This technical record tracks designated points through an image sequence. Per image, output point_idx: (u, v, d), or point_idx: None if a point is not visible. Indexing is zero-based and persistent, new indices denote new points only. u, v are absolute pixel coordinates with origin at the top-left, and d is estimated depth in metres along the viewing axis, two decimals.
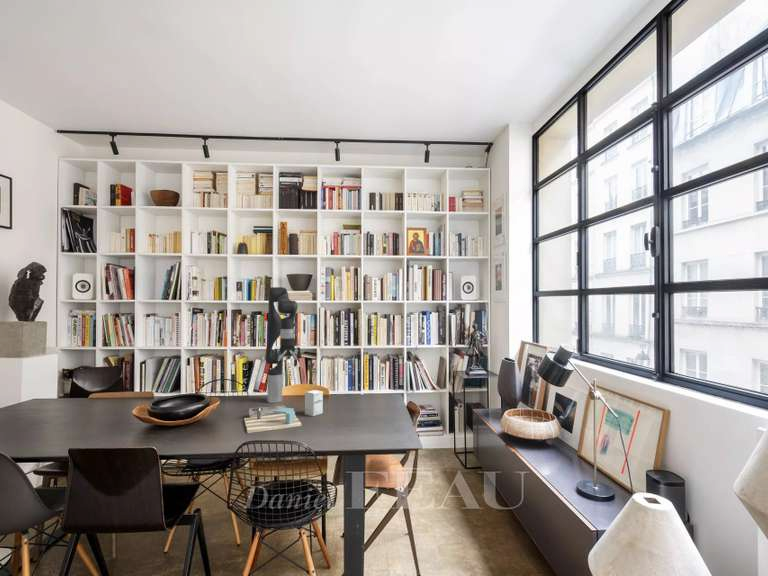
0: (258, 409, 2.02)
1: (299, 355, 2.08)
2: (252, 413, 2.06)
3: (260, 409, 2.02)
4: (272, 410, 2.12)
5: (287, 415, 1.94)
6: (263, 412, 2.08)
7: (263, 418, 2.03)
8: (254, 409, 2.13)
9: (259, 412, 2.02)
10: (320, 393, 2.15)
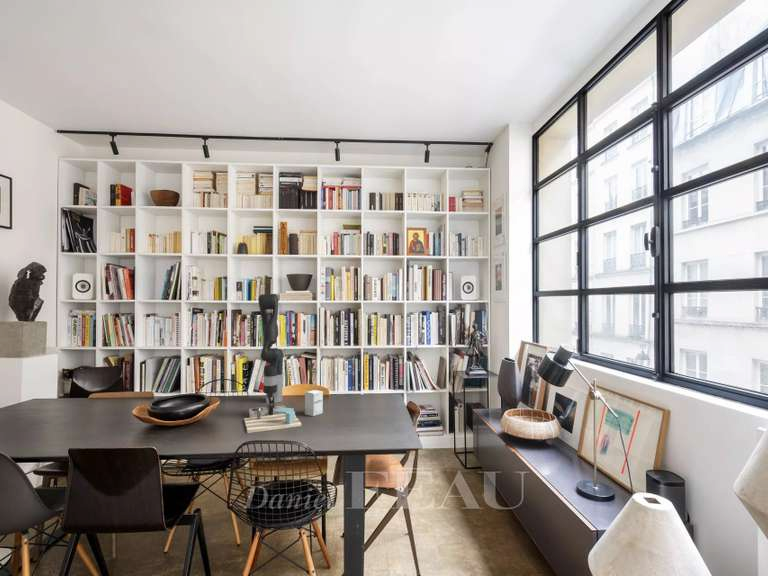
0: (258, 409, 2.02)
1: None
2: (252, 413, 2.06)
3: (260, 409, 2.02)
4: None
5: (287, 415, 1.94)
6: (263, 412, 2.08)
7: (263, 418, 2.03)
8: (254, 409, 2.13)
9: (259, 412, 2.02)
10: (320, 393, 2.15)
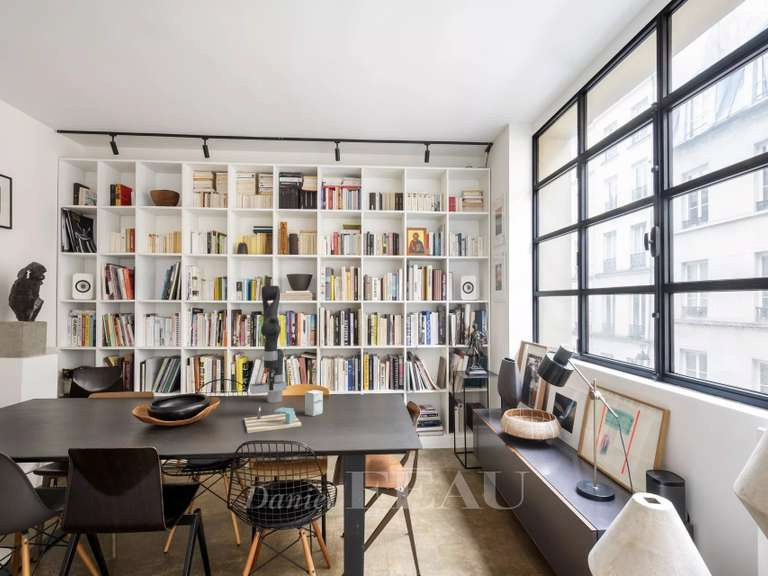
0: (258, 409, 2.02)
1: None
2: (253, 388, 2.07)
3: (260, 409, 2.02)
4: (273, 385, 2.13)
5: (287, 415, 1.94)
6: (264, 387, 2.09)
7: (263, 418, 2.03)
8: (255, 384, 2.13)
9: (259, 412, 2.02)
10: (320, 393, 2.15)
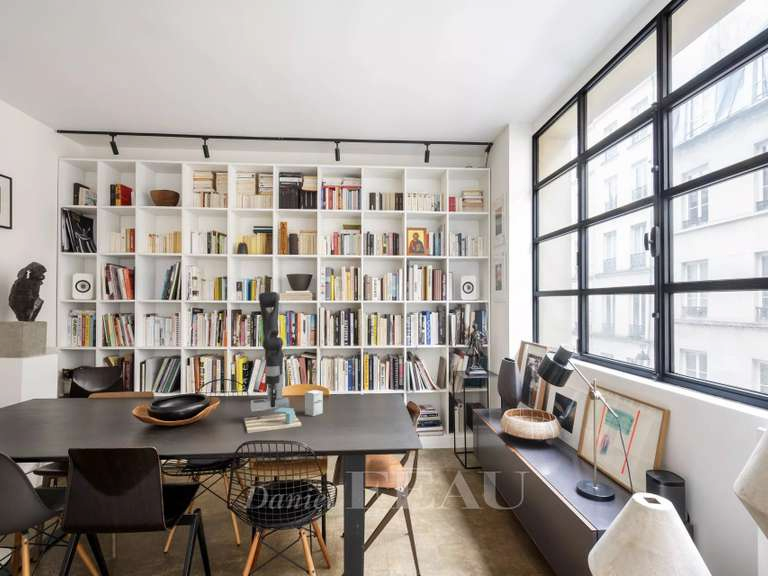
0: None
1: None
2: (254, 405, 1.98)
3: None
4: None
5: (287, 415, 1.94)
6: (265, 404, 2.00)
7: (263, 418, 2.03)
8: (256, 401, 2.05)
9: (259, 412, 2.02)
10: (320, 393, 2.15)
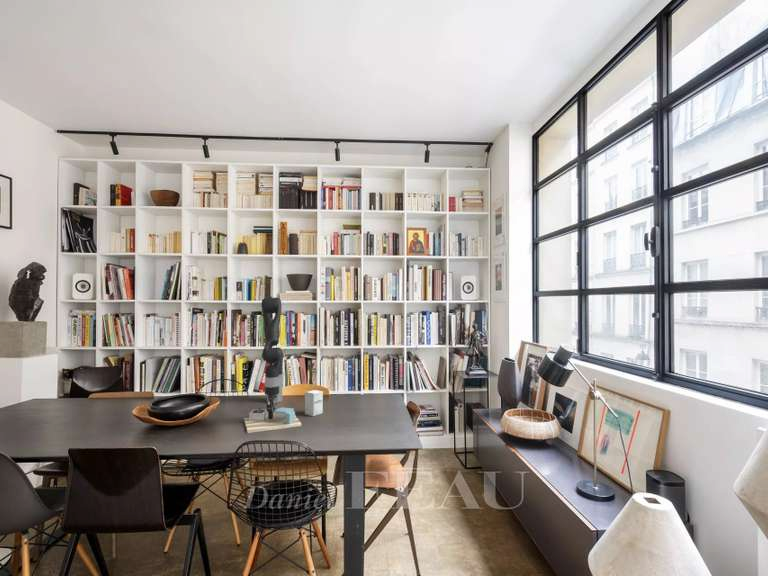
0: (258, 409, 2.02)
1: (276, 403, 2.08)
2: (251, 415, 1.98)
3: (260, 409, 2.02)
4: None
5: (287, 415, 1.94)
6: (262, 415, 1.99)
7: None
8: None
9: (259, 412, 2.02)
10: (320, 393, 2.15)
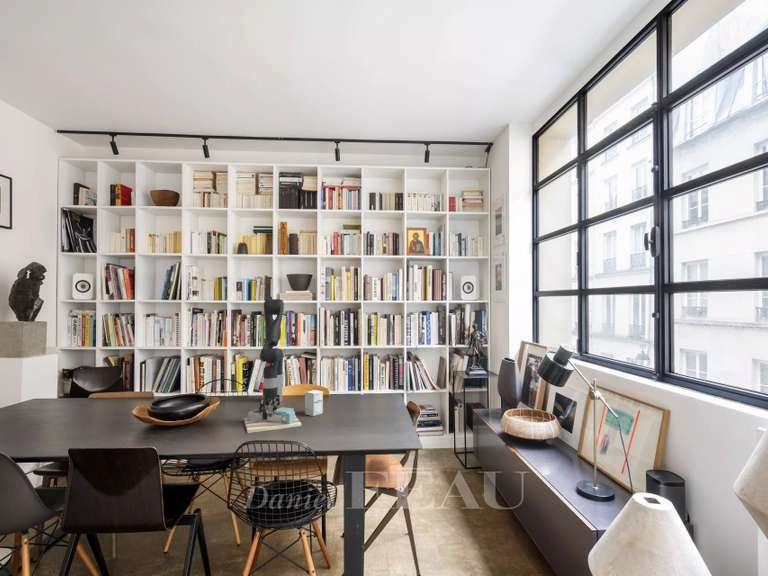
0: (258, 409, 2.02)
1: (279, 402, 2.06)
2: (249, 414, 2.00)
3: None
4: (269, 415, 1.98)
5: (287, 415, 1.94)
6: (259, 415, 1.98)
7: None
8: None
9: (259, 412, 2.02)
10: (320, 393, 2.15)
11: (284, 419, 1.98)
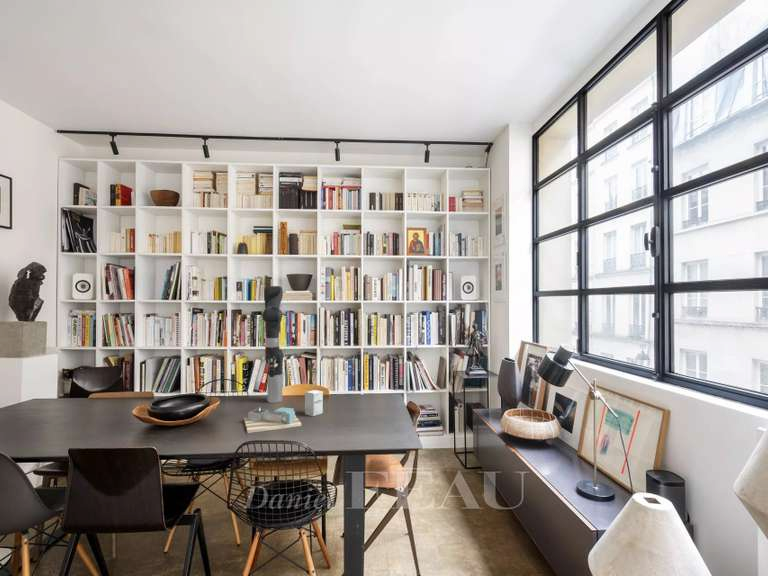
0: (258, 409, 2.02)
1: None
2: (249, 414, 2.00)
3: (260, 409, 2.02)
4: (269, 415, 1.98)
5: (287, 415, 1.94)
6: (259, 415, 1.98)
7: None
8: None
9: (259, 412, 2.02)
10: (320, 393, 2.15)
11: (284, 419, 1.98)
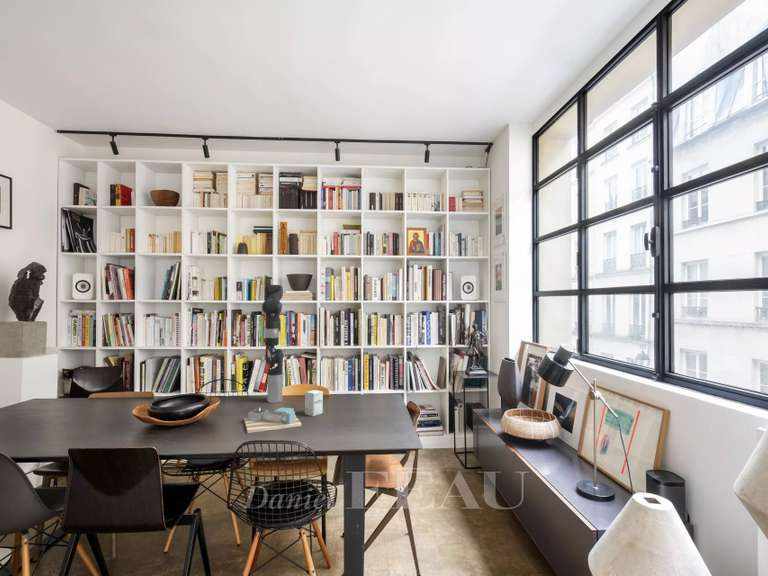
0: (258, 409, 2.02)
1: None
2: (249, 414, 2.00)
3: (260, 409, 2.02)
4: (269, 415, 1.98)
5: (287, 415, 1.94)
6: (259, 415, 1.98)
7: None
8: None
9: (259, 412, 2.02)
10: (320, 393, 2.15)
11: (284, 419, 1.98)
